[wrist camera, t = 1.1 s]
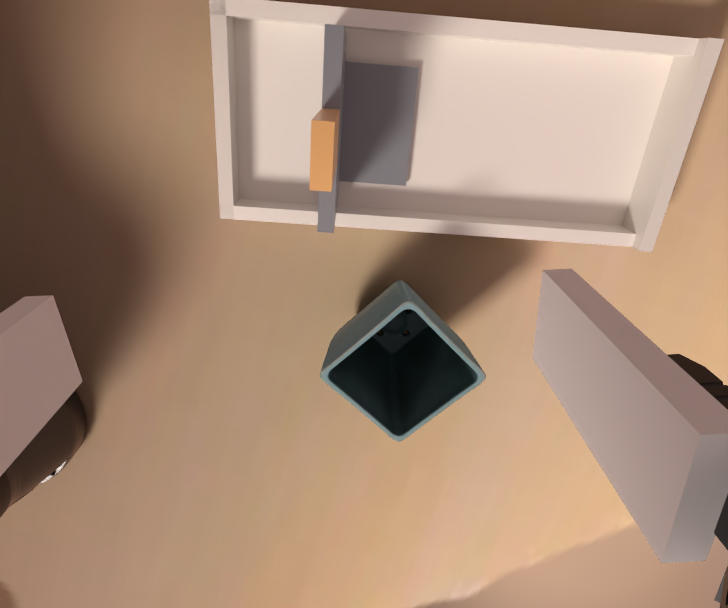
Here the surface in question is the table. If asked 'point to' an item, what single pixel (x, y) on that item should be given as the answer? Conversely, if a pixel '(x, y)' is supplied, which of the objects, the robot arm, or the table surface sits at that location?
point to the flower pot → (399, 363)
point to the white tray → (464, 122)
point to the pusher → (359, 125)
